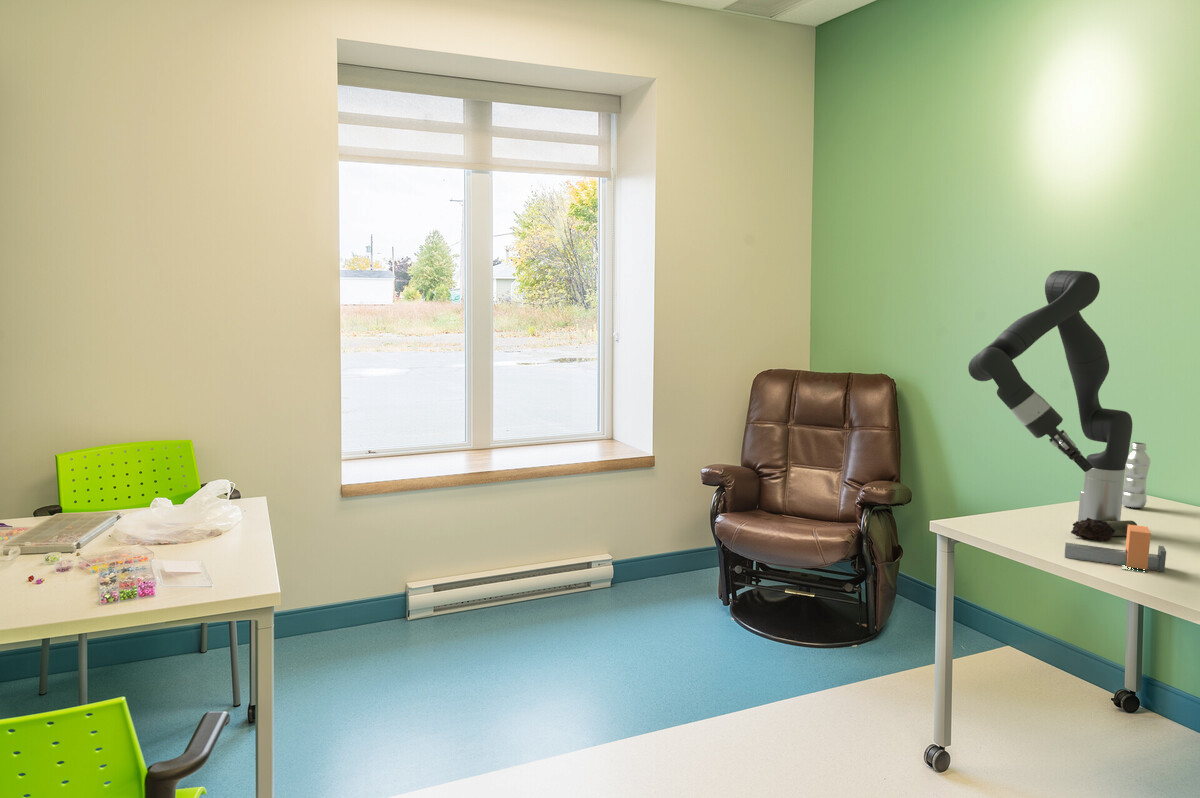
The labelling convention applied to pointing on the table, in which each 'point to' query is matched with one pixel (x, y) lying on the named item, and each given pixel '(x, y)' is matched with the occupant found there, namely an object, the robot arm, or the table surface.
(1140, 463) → the plastic bottle
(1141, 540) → the sleeve
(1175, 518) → the table surface
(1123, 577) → the table surface
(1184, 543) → the table surface
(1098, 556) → the bar
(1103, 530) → the dark brown rough lump
